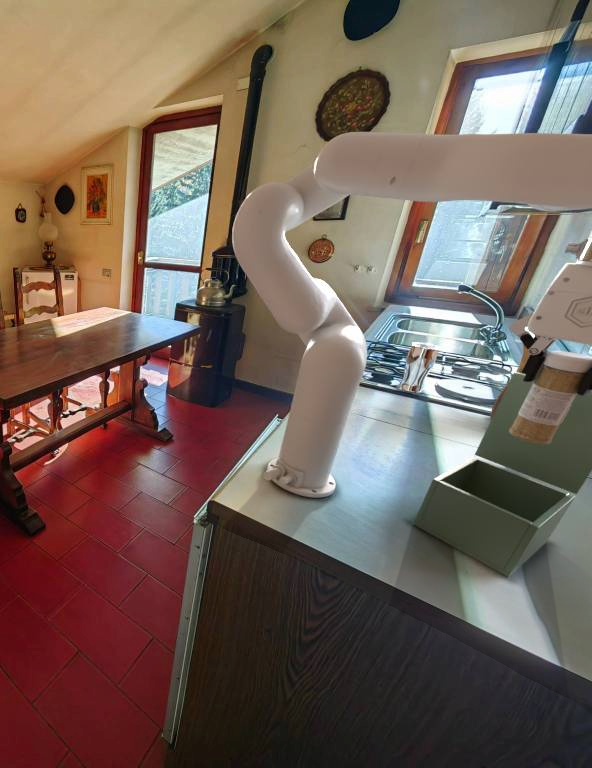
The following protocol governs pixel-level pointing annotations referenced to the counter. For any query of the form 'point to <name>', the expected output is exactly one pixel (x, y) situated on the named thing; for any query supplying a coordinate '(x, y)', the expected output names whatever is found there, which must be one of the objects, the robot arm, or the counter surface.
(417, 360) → the beer glass
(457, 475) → the green box
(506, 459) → the lid
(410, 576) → the counter surface
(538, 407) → the sprinkles bottle
